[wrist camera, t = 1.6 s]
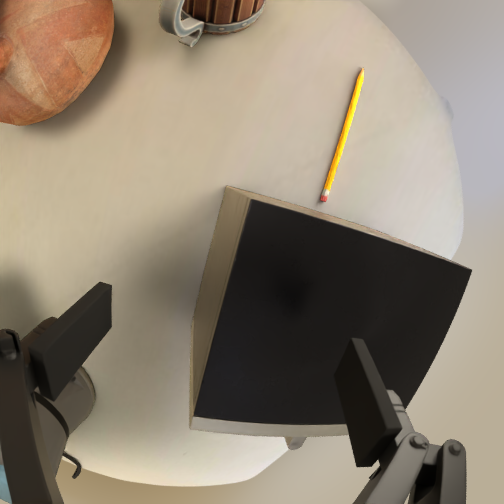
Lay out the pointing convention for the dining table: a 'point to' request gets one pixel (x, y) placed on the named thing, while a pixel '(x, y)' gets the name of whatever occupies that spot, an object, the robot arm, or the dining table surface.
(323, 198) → the pencil
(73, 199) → the dining table surface
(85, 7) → the jug
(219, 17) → the mug
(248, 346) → the microwave
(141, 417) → the dining table surface
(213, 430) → the microwave door
